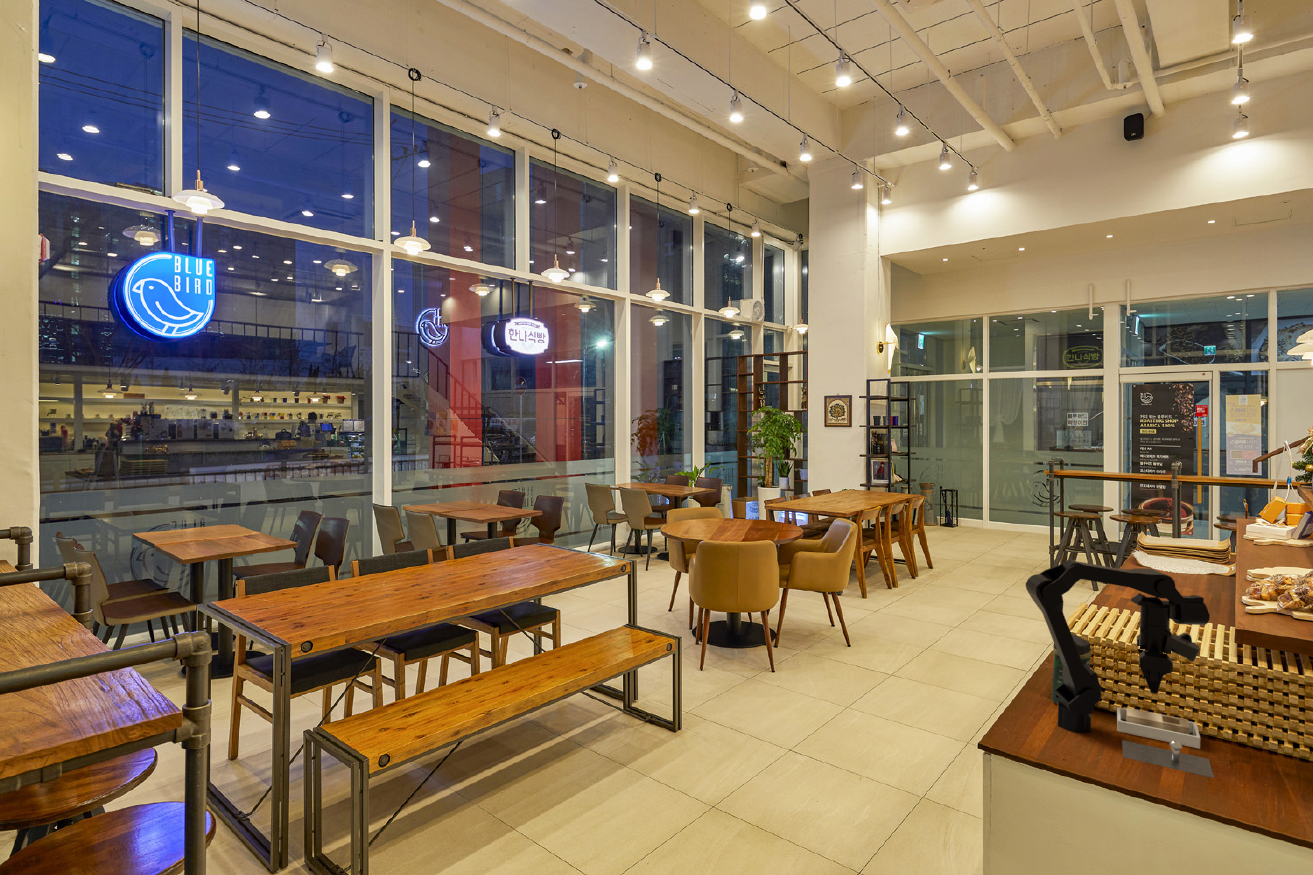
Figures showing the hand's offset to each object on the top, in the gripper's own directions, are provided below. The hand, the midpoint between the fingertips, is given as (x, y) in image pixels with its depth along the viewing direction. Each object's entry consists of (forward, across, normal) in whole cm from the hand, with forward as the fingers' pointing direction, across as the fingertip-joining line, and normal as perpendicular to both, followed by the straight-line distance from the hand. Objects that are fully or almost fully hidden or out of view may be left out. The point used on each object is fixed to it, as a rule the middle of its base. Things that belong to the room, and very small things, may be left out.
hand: (1152, 686), depth 164 cm
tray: (+12, 0, -1) cm, 12 cm away
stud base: (+12, -14, -2) cm, 18 cm away
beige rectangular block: (+11, 0, -1) cm, 11 cm away
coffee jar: (+12, +10, +17) cm, 23 cm away
